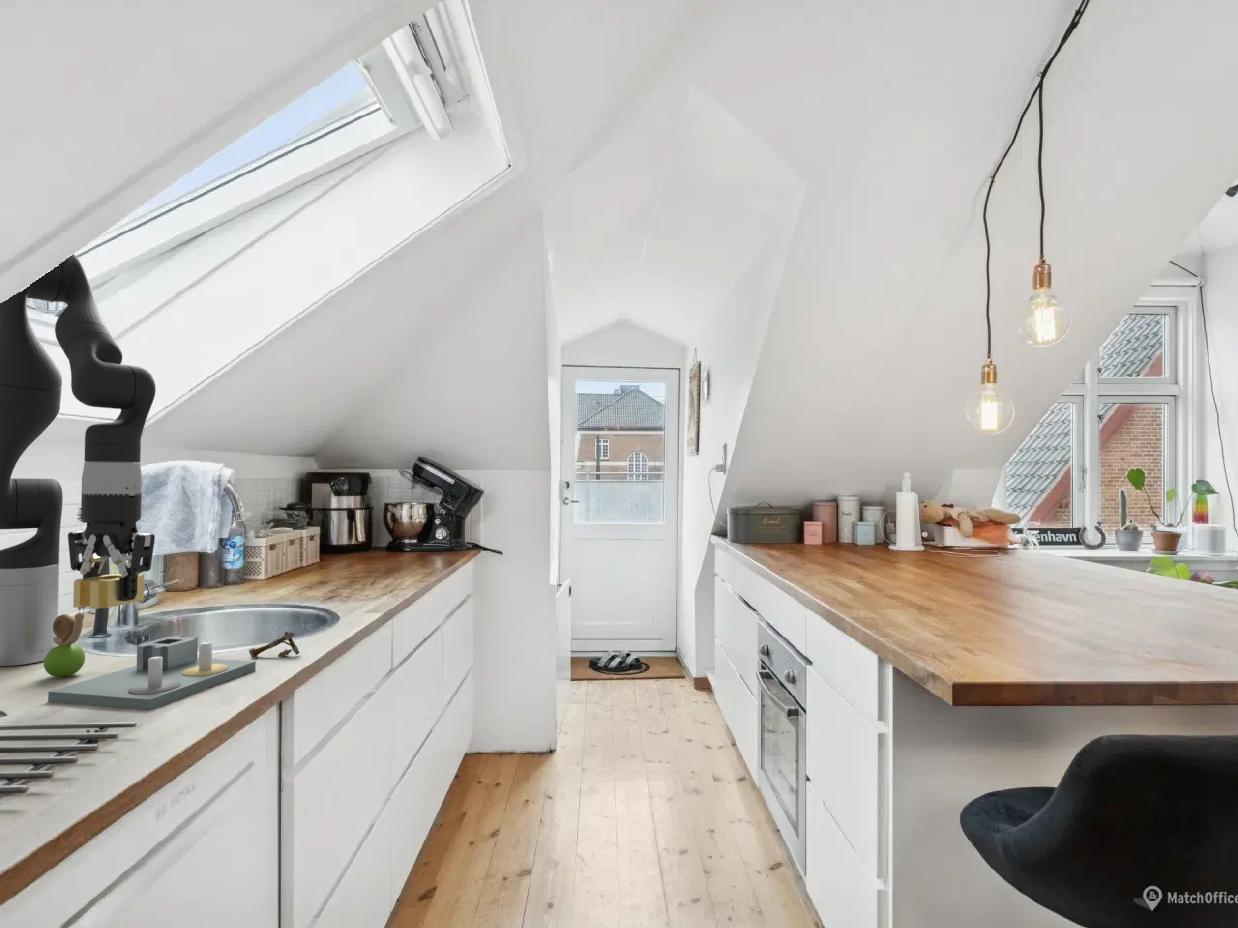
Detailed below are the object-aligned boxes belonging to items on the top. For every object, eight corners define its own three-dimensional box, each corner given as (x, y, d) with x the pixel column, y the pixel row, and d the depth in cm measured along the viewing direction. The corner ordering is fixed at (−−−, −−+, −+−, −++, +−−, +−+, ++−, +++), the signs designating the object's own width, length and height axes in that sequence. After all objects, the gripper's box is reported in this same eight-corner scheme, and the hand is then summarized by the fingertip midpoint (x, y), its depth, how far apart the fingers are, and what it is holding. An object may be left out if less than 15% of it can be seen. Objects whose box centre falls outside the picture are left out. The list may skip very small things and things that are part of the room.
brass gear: (68, 607, 103) (69, 580, 103) (117, 597, 110) (117, 572, 110) (101, 609, 101) (102, 582, 101) (148, 599, 109) (148, 574, 109)
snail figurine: (64, 682, 111) (66, 608, 111) (34, 680, 112) (36, 607, 113) (97, 673, 116) (99, 603, 116) (68, 671, 118) (70, 601, 118)
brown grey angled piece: (302, 652, 127) (291, 629, 127) (258, 672, 126) (247, 649, 126) (305, 649, 129) (294, 627, 129) (262, 669, 128) (251, 647, 128)
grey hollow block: (132, 670, 113) (132, 645, 113) (172, 657, 121) (173, 635, 121) (162, 672, 112) (163, 647, 112) (201, 659, 119) (202, 636, 120)
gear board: (48, 701, 101) (49, 661, 102) (167, 664, 122) (168, 630, 122) (149, 709, 98) (150, 667, 98) (255, 670, 118) (255, 635, 119)
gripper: (50, 491, 104) (47, 601, 104) (129, 492, 101) (126, 606, 101) (96, 490, 111) (94, 593, 111) (171, 491, 108) (169, 597, 108)
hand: (109, 598), depth 106 cm, fingers closed on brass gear, 6 cm apart
